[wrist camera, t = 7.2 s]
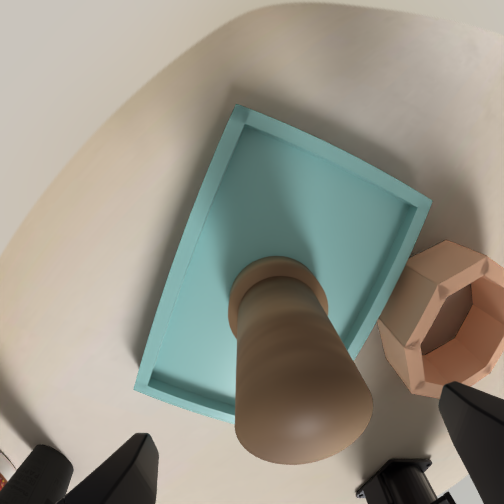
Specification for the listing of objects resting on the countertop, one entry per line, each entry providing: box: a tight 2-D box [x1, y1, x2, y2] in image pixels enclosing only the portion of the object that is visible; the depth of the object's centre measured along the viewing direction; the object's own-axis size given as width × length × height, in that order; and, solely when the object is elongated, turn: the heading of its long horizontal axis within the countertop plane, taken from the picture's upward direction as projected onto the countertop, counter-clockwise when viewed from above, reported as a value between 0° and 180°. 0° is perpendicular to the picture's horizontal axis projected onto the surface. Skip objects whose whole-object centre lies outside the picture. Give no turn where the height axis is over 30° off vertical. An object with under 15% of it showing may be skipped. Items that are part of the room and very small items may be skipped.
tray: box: [134, 104, 433, 424], centre depth 18 cm, size 12×18×2 cm, turn 158°
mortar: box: [377, 240, 504, 399], centre depth 18 cm, size 9×9×4 cm
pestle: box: [228, 256, 373, 465], centre depth 13 cm, size 5×5×10 cm
